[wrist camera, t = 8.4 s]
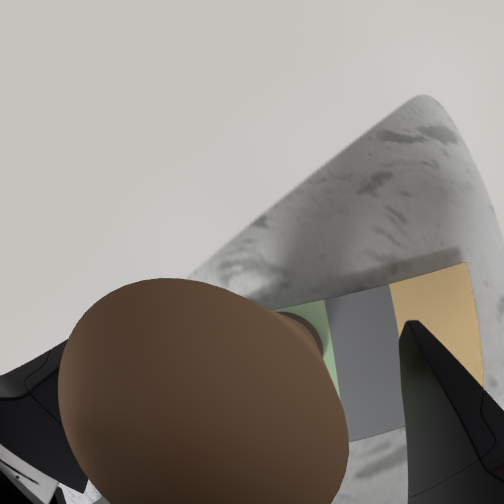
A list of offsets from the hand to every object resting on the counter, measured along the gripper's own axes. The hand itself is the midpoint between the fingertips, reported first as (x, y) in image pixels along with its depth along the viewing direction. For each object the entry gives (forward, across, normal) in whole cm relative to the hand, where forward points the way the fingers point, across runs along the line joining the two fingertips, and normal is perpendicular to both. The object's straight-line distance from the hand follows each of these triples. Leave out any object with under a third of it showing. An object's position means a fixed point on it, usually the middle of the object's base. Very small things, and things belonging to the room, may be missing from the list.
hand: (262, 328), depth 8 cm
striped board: (+4, -5, +8) cm, 10 cm away
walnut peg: (+4, 0, +6) cm, 7 cm away
